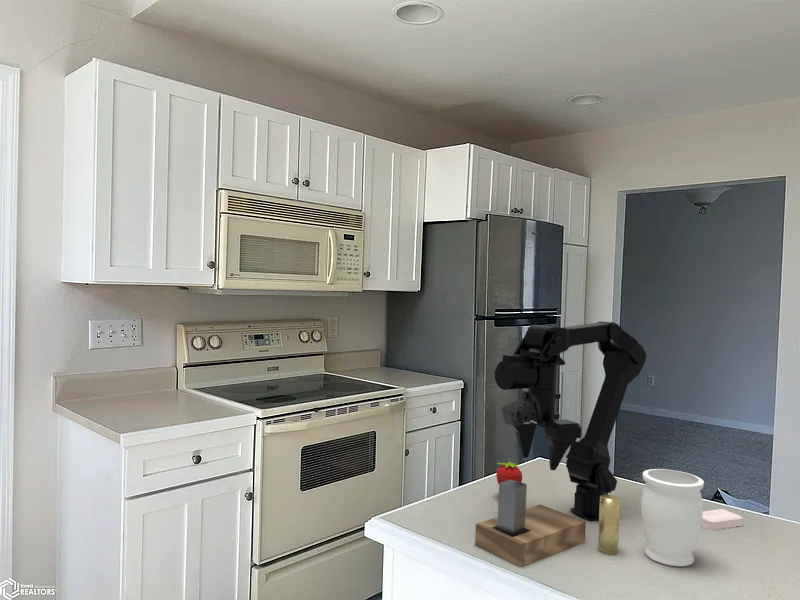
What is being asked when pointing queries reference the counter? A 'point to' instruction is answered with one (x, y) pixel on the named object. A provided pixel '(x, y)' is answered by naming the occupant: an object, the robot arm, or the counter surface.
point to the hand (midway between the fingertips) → (538, 463)
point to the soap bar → (720, 519)
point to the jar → (671, 515)
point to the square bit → (512, 508)
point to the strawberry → (508, 472)
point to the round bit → (609, 524)
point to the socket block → (532, 536)
